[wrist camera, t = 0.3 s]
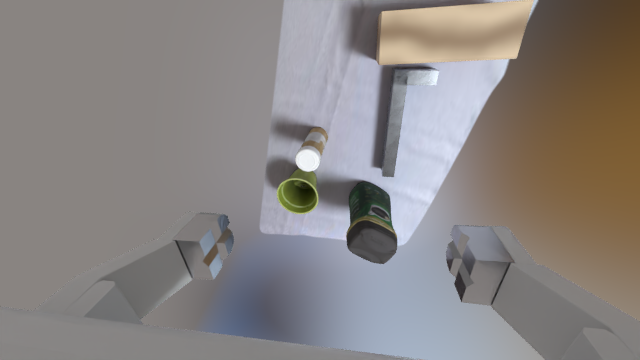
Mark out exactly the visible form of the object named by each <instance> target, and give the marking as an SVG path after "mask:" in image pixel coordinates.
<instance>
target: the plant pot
mask: <svg viewBox="0 0 640 360" xmlns="http://www.w3.org/2000/svg"><path fill="white" fill-rule="evenodd" d="M316 182H317V179H316V175H315V174H314V173H313V171H310V172H307V171H303V170H301V169H300V168H299V169H297V170H296V171H295V172H294V173H293V174H292V175H291V176H290V178H289V179H287V180H285V181H283V182H282V183H281V184H280V185H279V187H278V189H277V198H278V201H279V203H280V204H281V206H282V207H283V208H285V209H286V210H288V211H289V212H292V213H295V214H306V213H309V212H311V211H312V210H314V209H315V207H316V206H317V204H318V193H317V190H316ZM301 185H302V186H306V187H302V186H301Z"/></svg>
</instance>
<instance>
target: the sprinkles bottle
mask: <svg viewBox="0 0 640 360" xmlns="http://www.w3.org/2000/svg"><path fill="white" fill-rule="evenodd" d="M327 140H328V135H327V132H326V131H325V130H324V129H322V128H320V127H315V128H313V129H311V130H310V132H309V134H308V136H307V138H306V139H305V141H304V143H303V145H302V147H301V148H300V149H299V150H298V152H297V154H296V157H295V161H296V164H297V166H298V167H299V168H300V169H301V170H303V171H307V172H310V171H313V170H315V169H316V168H317V167H318V166H319V164H320V161H321V155H322V153H323V150H324V147H325V145H326V142H327Z"/></svg>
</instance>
